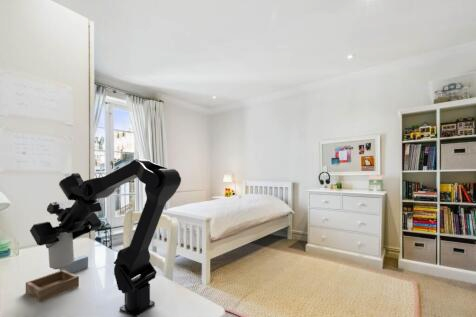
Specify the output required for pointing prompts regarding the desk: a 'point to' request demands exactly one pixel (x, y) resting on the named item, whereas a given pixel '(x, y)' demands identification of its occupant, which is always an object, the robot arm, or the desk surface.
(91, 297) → the desk surface
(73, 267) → the block
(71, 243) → the beverage can
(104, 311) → the desk surface
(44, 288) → the tray
